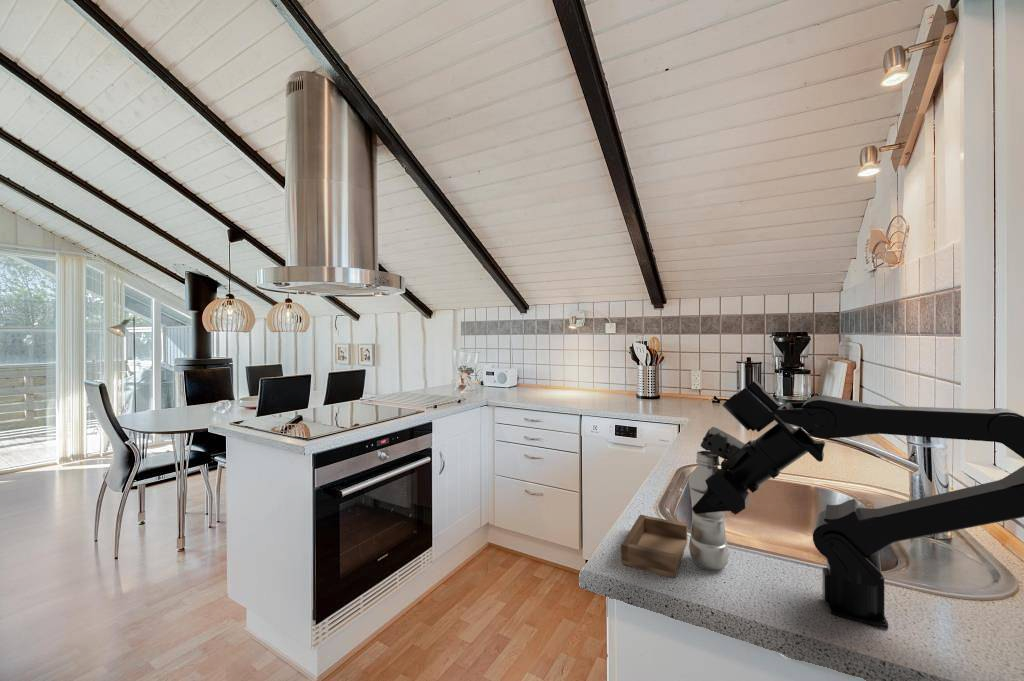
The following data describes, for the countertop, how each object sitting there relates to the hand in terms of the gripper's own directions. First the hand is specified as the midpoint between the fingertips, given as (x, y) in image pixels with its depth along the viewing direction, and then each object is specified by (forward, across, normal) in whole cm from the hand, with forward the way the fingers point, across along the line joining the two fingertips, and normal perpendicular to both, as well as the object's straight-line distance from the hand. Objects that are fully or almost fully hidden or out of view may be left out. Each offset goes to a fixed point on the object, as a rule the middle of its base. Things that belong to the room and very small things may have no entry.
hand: (699, 504), depth 76 cm
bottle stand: (+13, +1, +2) cm, 13 cm away
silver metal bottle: (+7, 0, +9) cm, 11 cm away
